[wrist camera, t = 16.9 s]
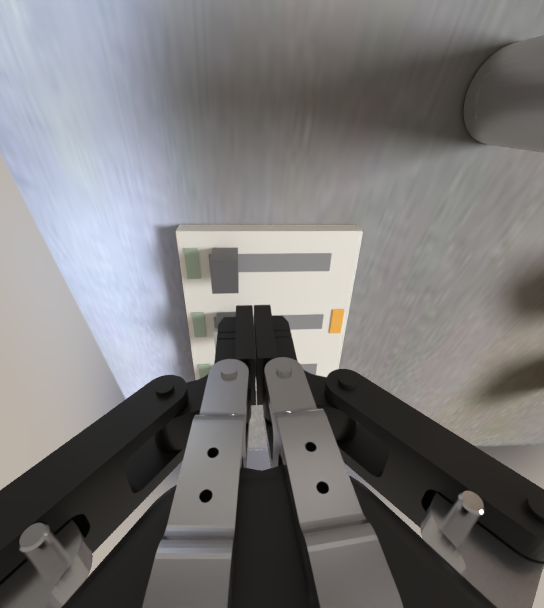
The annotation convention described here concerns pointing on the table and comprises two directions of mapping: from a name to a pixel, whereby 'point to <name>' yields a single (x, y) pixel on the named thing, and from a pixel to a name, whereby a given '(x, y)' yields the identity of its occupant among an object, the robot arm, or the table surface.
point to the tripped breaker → (218, 319)
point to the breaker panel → (271, 284)
